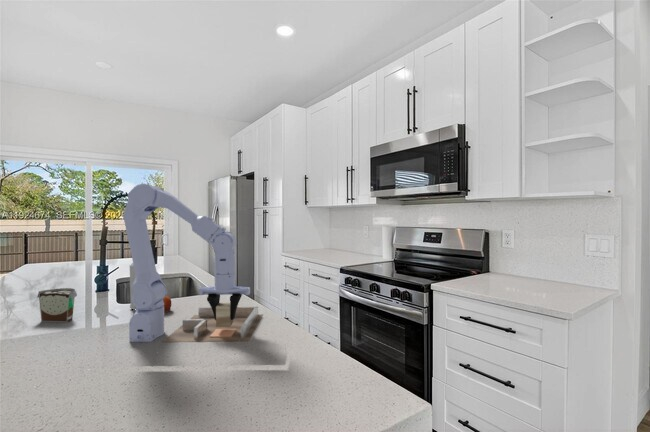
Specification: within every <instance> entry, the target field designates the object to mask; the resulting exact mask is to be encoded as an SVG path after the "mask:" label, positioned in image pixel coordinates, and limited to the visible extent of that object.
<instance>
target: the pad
mask: <svg viewBox="0 0 650 432" xmlns="http://www.w3.org/2000/svg"><path fill="white" fill-rule="evenodd" d="M235 331H236V329H216V330H215V331H214V332H213V333H212V334H211V335H210V337H232V335H233V334H234V332H235Z"/></svg>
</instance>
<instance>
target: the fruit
mask: <svg viewBox="0 0 650 432" xmlns="http://www.w3.org/2000/svg"><path fill="white" fill-rule="evenodd" d="M163 302H164V315H165V314H167V313H169V312H170V311H171V308H172V299H171V297H170V296H169V295H166V297H165V298H164V299H163Z"/></svg>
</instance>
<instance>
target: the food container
mask: <svg viewBox="0 0 650 432" xmlns="http://www.w3.org/2000/svg"><path fill="white" fill-rule="evenodd" d="M76 297H78V294H77V291H76V289H75V288H71V287H66V288H65V287H63V288H52V289H51V288H50V289H45V290H40V291H38V293H37V296H36V298H38V301H39V303H38V304H39V309H40V310H39V311H40V319H41V322H44V323H45V322H46V323H50V322H51V323H69V322H71V321H72V320H73V316H74V308H75V307H74V306H75V298H76Z"/></svg>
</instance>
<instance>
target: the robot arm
mask: <svg viewBox="0 0 650 432" xmlns="http://www.w3.org/2000/svg"><path fill="white" fill-rule="evenodd" d="M158 208H159V209H160V208H163V209H167V210H168V211H170V212H172V213H173V214H175V215H177V216H178V217H180V218H181V219H182V220H184V221H186V222H187V223H188V224H189V225H190V226H191V231H192V232H193V233H195V234H196V235H198V236H199V237H200V238H201V239H203V240H204V241H205V242H206V243H208V244H210V245H211V246H212V249H213V250H214V286H209V287H208V286H204V287H200V288H199V289H198V295H199V296H205V295H206V296H207V297H206V300H207V303H208V304H209V307H211V308H212V310H213V313H214V317H215V320H216V306H217V305H218V304H219V303H220V300H221V296H224V295H226V296H227V295H230V297H229V303H230V305H231V320H233V319H234V318H235V313H236V309H237V307H239V303H240V300H241V299H242V296H243V295H245V296H249V295H250V294H251V286H237V285H236V283H235V282H236V278H235V277H236V276H235V275H236V268H235V267H236V265H235V263H236V257H235V246H236V244H237V239H236V237H235V235H233V233H232V231H226V228H225V227H223V226H222V227H221V226H220V225H219V224H218V223H216V222H214V221H213V220H214V218H213V217H212V216H207V215H198V214H197V213H196V212H195V211H193V210H192V209H191V208H189V207H188V206H187V205H186V204H184V203H183V202H182V201H181V200H179V199H178V197H176V196H175V195H173V194H172V193H170V192H169V191H166V190H164V188H162V187H160V186H157V185H156V186H155V185H149V184H147V183H139V184H137V185H135V186H134V187H133V188H132V189H130V191H129V192H128V193H127V203H126V206H125V208H124V211H123V212H124V213H123V220H124V226H125V231H126V235H127V239H128V240H127V241H128V245H129V251H130V254H131V260H132V263H133V265H134V269H135V274H136V278H135V280H134V283H133V295H132V302H133V304H134V306H135V307H136V310H135V313H134V314H133V315H132V316H131V318H130V319H129V322H128V323H129V325H128V326H129V327H128V328H129V333H128V334H129V337H128V338H129V342H133V343H135V342H136V343H138V342H139V343H140V342H141V343H143V342H144V343H145V342H147V343H149V342H152V341H154V340H155V339H157V338H158V337H161V336H163V335H164V334H165V314H164V302H163V299H164V298H165V297H166V296H168V295H167V294H168V287H167V286H166V284H165V283H164V282H163V279H162V275H160V273H159V272H158V271H157V268H156V263H155V258H154V254H153V249H152V244H151V238H150V233H149V229H148V225H147V218H148V217H149V216H150V215H151V214H152V213H153V211H155V210H157V209H158Z"/></svg>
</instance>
